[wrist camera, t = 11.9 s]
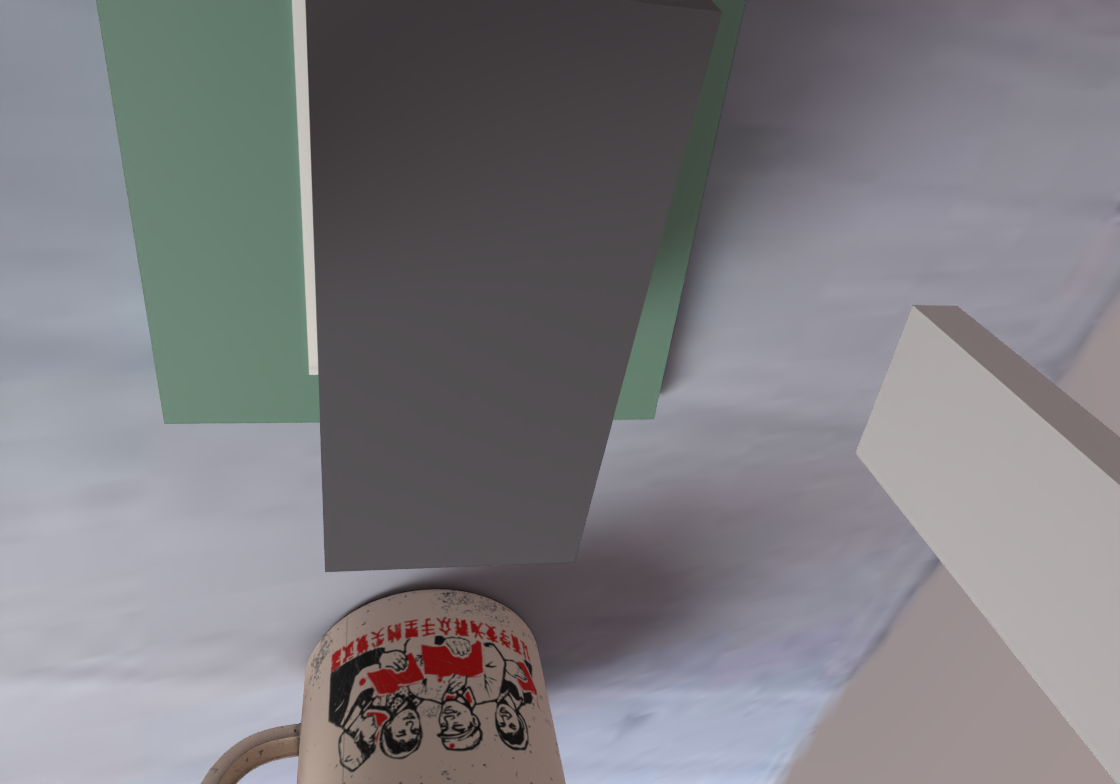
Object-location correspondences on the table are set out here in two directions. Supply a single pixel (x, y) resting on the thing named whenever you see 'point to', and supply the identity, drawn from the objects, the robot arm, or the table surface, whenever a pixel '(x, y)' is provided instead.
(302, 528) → the table surface
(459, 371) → the block
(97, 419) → the table surface
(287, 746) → the teacup with lid
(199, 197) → the pin board
